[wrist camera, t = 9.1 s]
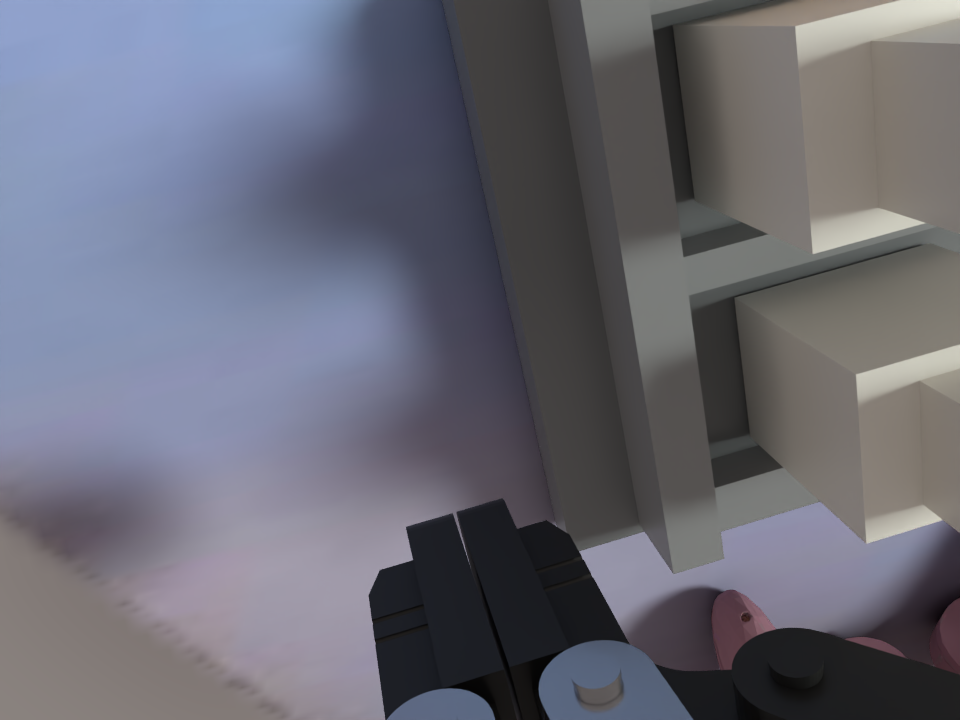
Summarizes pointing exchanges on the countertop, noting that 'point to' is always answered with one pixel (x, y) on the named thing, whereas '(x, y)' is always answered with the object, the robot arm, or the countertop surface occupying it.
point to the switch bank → (626, 270)
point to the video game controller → (951, 646)
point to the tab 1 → (825, 116)
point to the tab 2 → (862, 387)
